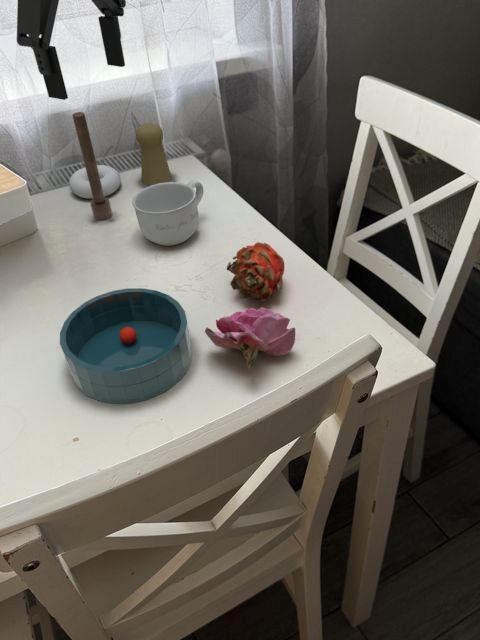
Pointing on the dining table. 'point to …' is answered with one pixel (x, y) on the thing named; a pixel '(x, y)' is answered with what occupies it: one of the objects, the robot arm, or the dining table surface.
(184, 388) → the dining table surface
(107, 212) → the stirring stick
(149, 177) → the olive pawn
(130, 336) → the red ball
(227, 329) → the flower
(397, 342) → the dining table surface
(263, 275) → the dragon fruit
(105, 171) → the donut
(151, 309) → the bowl
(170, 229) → the teacup
